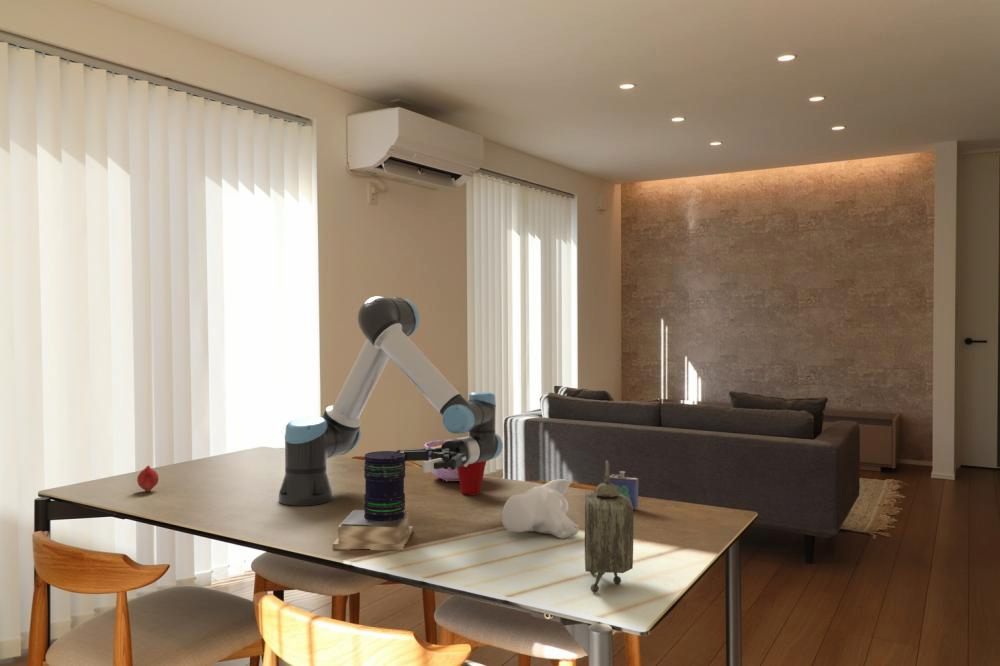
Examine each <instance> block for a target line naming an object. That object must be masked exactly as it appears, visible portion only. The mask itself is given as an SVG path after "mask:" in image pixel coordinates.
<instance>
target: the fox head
mask: <svg viewBox="0 0 1000 666" xmlns="http://www.w3.org/2000/svg"><path fill="white" fill-rule="evenodd" d="M571 483H572V480H570V479H569V480H568V479H564V478H559V479H552V480H550V481H548V482H546V483H545V484H543V485H539V484H538V485H536V486H534V487H531V488H529V489H527V490H526V491H524V492H523V493H522V494H520V493H517V494H513V495H510V496H509V498H507V500H506V502H505V503H504V506H503V509H502V512H501V513H502V514H501V522H502V525H503V527H504V528H505V529H506V530H507V531H509V532H514V533H516V532H517V533H524V532H529V531H530V532H531V533H532V532H533V533H534V532H536V533H540V534H547V535H548V534H549V535H552V536H554V537H556V538H557V539H558V538H559V539H566V538H568V537H569V536H571V537H575V536H576V535H577V534H578V532H579V529H580V526H579V525H578V524H576V523H575V522H574V521H572V519H570V517H569V516H568V515H567V512H568V511H569V502H568V501H567V499H566V497H565V496H564V494H565V493H566V491H567V490H568V488H569V487H570V486H571Z"/></svg>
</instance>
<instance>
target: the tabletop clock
mask: <svg viewBox="0 0 1000 666" xmlns="http://www.w3.org/2000/svg"><path fill="white" fill-rule="evenodd" d="M604 465H605V469H604V470H605V471H604V481H603V482H601V483H600V484H597V486H596V487H595V489H594V492H585V494H584V495H585V499H584V500H585V501H584V502H585V504H584V569H585V572H588V573H589V574H591V575H595V574H597V575H596V579H595V583H592V585H590V591H591V592H593V593H594V594H595V593H597V592H599V589H600V586H599V585H598V584H599V582H600V580H601V578H602V577H603V575H605V573H608V574H609V573H610V574H611V573H613V574H614V577H613V580H612V582H613V584H614V585H617V586H618V585H621V582H622V578H621V576H618V574H624V573H626V572H628V571H630V570H631V569H632V570H633V568H634V567H633V566H634V529H635V528H634V524H635V523H634V522H635V521H634V518H635V517H634V511H633V506H632V503H631V500H630V498H628V497H626V496H624V495H623V494H620V492H619V490H618V488H617V487H616V486H615V485H614V484H612V483H610V476H611V475H610V461H609V460H607V459H606V460H605V463H604Z"/></svg>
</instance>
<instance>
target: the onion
mask: <svg viewBox="0 0 1000 666" xmlns="http://www.w3.org/2000/svg"><path fill="white" fill-rule="evenodd" d="M136 481H137V485H138V487H140V488H141V489H142V490H144V491H145V492H151V490H153V489H154V488H155V486H156V485H158V483H159V475H158V472H157V471H156V470H154V469H153V468H151V466H150V464H148V465H147V466H146V467H144V468H143V469H142V470H141V471H140V472H139V474H138V475H137V479H136Z"/></svg>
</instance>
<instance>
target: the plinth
mask: <svg viewBox="0 0 1000 666" xmlns="http://www.w3.org/2000/svg"><path fill="white" fill-rule="evenodd" d="M404 513H405V517H404V518H402V519H400V520H396V521H390V522H375V521H369V520H366V519H365V518H364V514H365V511H364V509H354V510H351V512H350V513H349V515H347V516H346V517H345V519H344V520H342V522H341V523H340V524H339V525H338V527H337V528H338V530H337V531H338V533H337V536H338V537H337V539H335V541H334V542H333V543H332V550H350V549H370V550H369V551H390V550H402V551H403V550H404V548H405V546H406V545H407V542H408V541H409V539H410V537H411V536H410V535H412V534H413V532H414V526H413V525H412V526H411V525H409V518H410V517H409V515H410V514H409V511H407V510H404ZM411 533H412V534H411ZM405 544H406V545H405Z"/></svg>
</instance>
